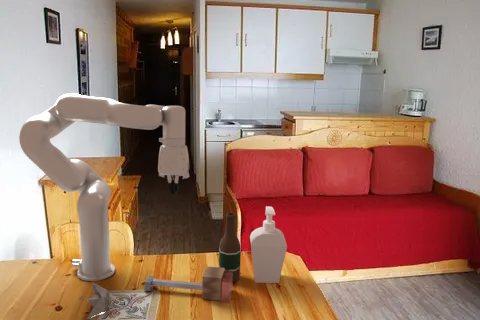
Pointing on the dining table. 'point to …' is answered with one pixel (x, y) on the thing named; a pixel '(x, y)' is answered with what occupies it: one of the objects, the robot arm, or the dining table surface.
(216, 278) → the block
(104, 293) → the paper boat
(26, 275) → the dining table surface
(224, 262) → the beer bottle
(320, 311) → the dining table surface
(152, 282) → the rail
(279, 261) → the soap bottle
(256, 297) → the dining table surface
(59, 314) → the dining table surface
